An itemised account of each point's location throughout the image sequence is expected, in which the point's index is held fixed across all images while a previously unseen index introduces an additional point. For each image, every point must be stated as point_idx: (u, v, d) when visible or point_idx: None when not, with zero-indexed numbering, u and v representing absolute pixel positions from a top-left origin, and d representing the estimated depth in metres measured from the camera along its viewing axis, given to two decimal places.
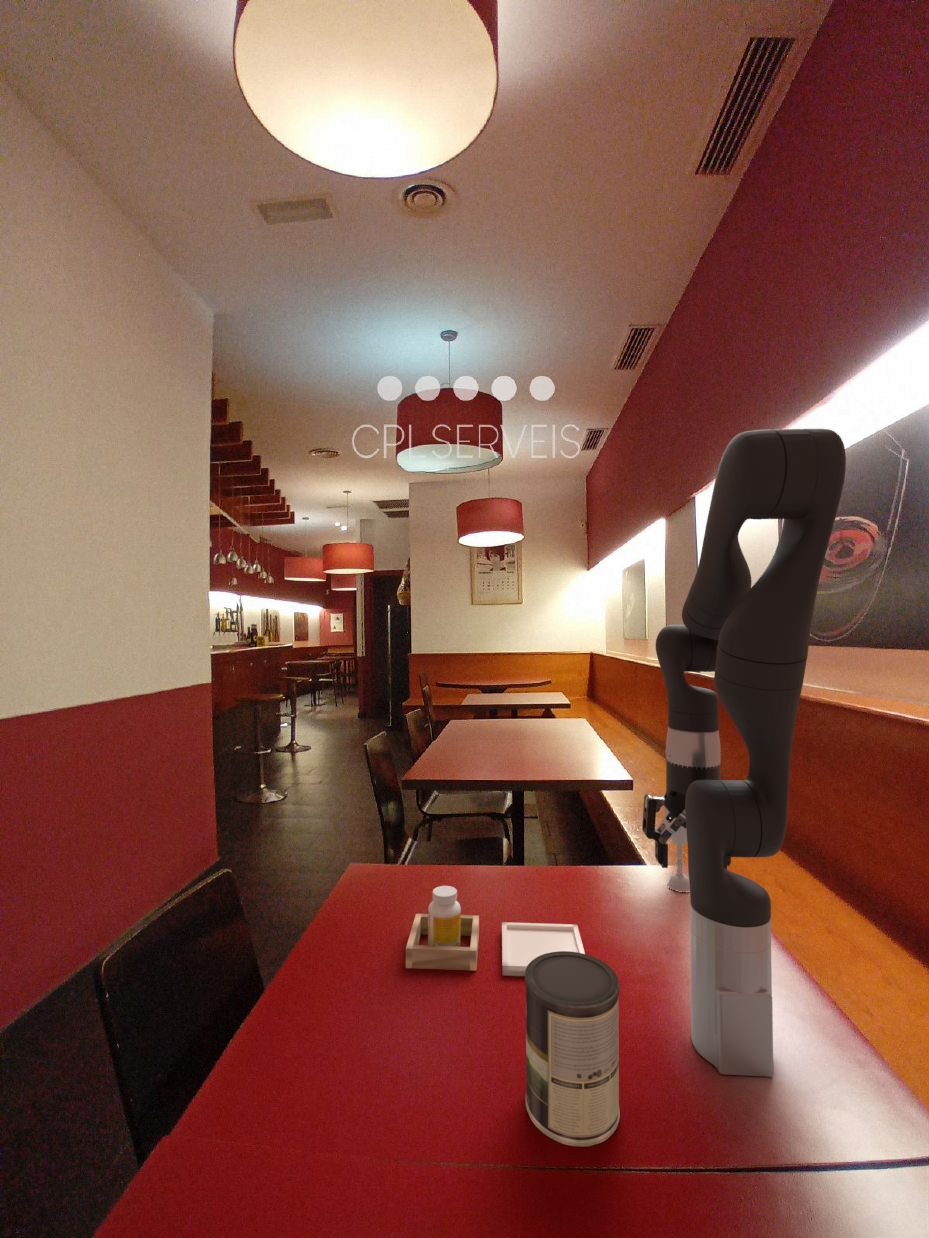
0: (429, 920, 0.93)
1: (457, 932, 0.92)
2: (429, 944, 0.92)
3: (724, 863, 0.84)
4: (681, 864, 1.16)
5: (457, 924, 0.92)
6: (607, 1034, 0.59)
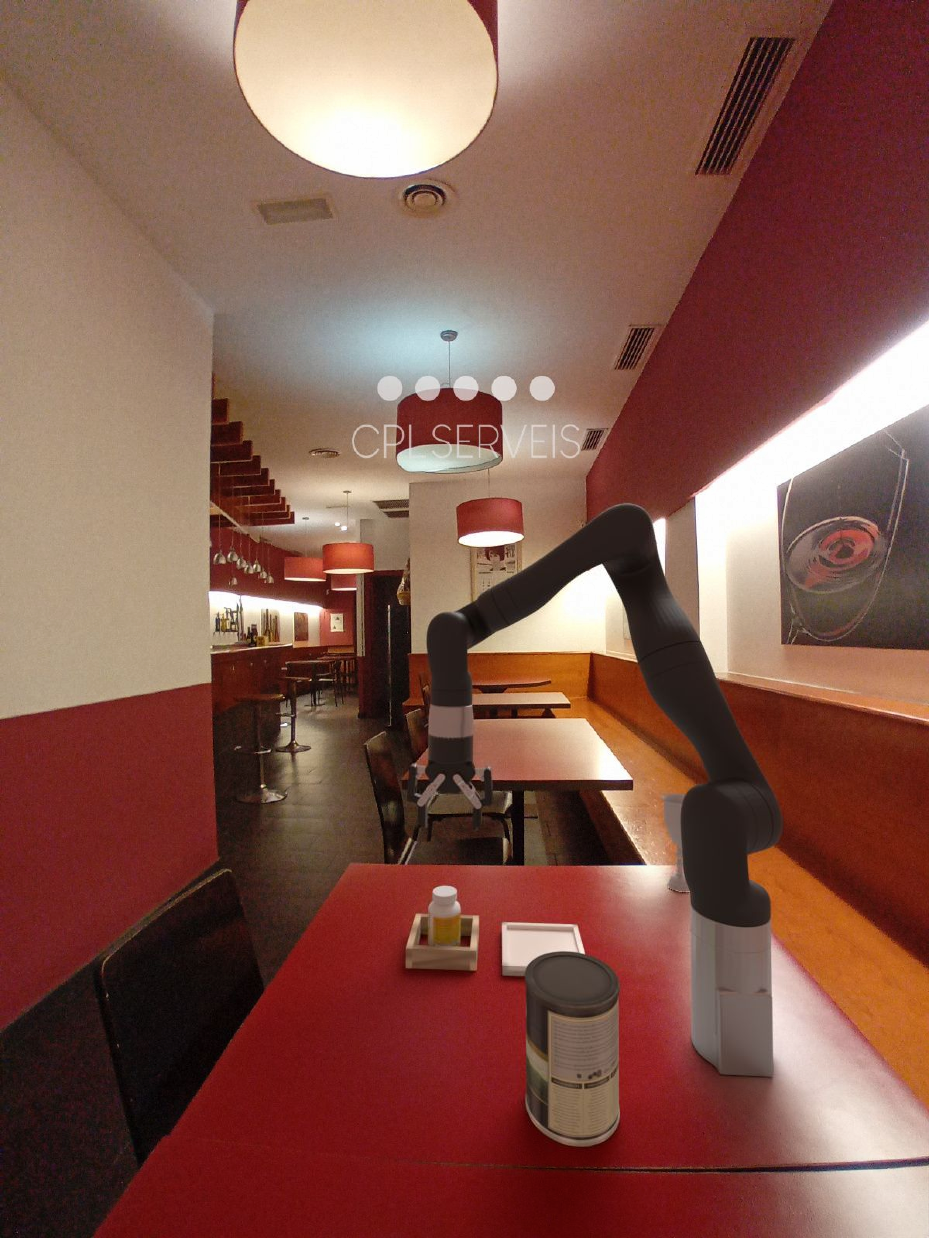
0: (429, 920, 0.93)
1: (456, 932, 0.92)
2: (429, 944, 0.92)
3: (474, 825, 0.94)
4: (681, 864, 1.16)
5: (457, 924, 0.92)
6: (607, 1034, 0.59)
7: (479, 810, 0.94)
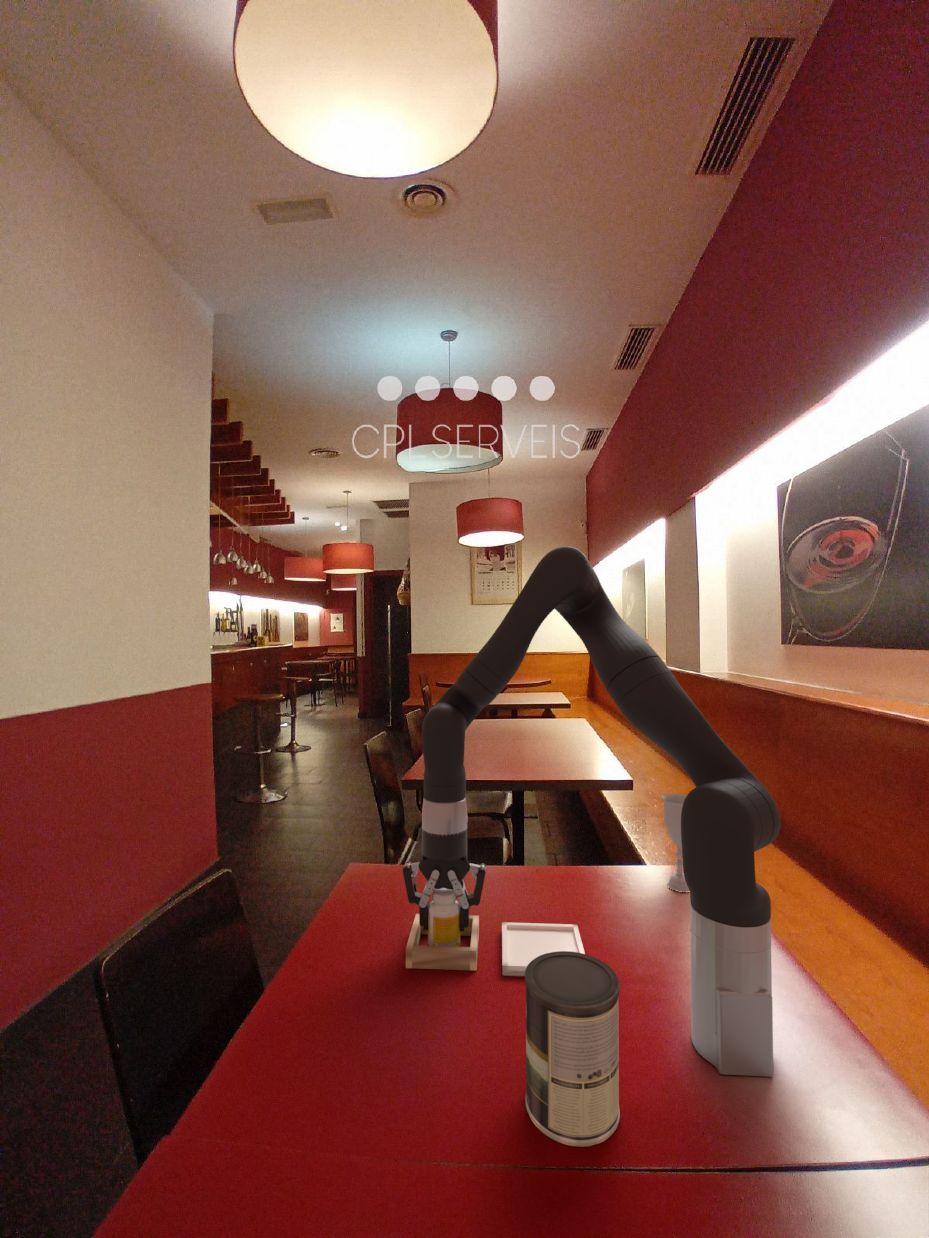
0: (429, 920, 0.93)
1: (456, 932, 0.92)
2: (429, 944, 0.92)
3: (462, 925, 0.92)
4: (681, 864, 1.16)
5: (457, 924, 0.92)
6: (607, 1034, 0.59)
7: (466, 910, 0.93)
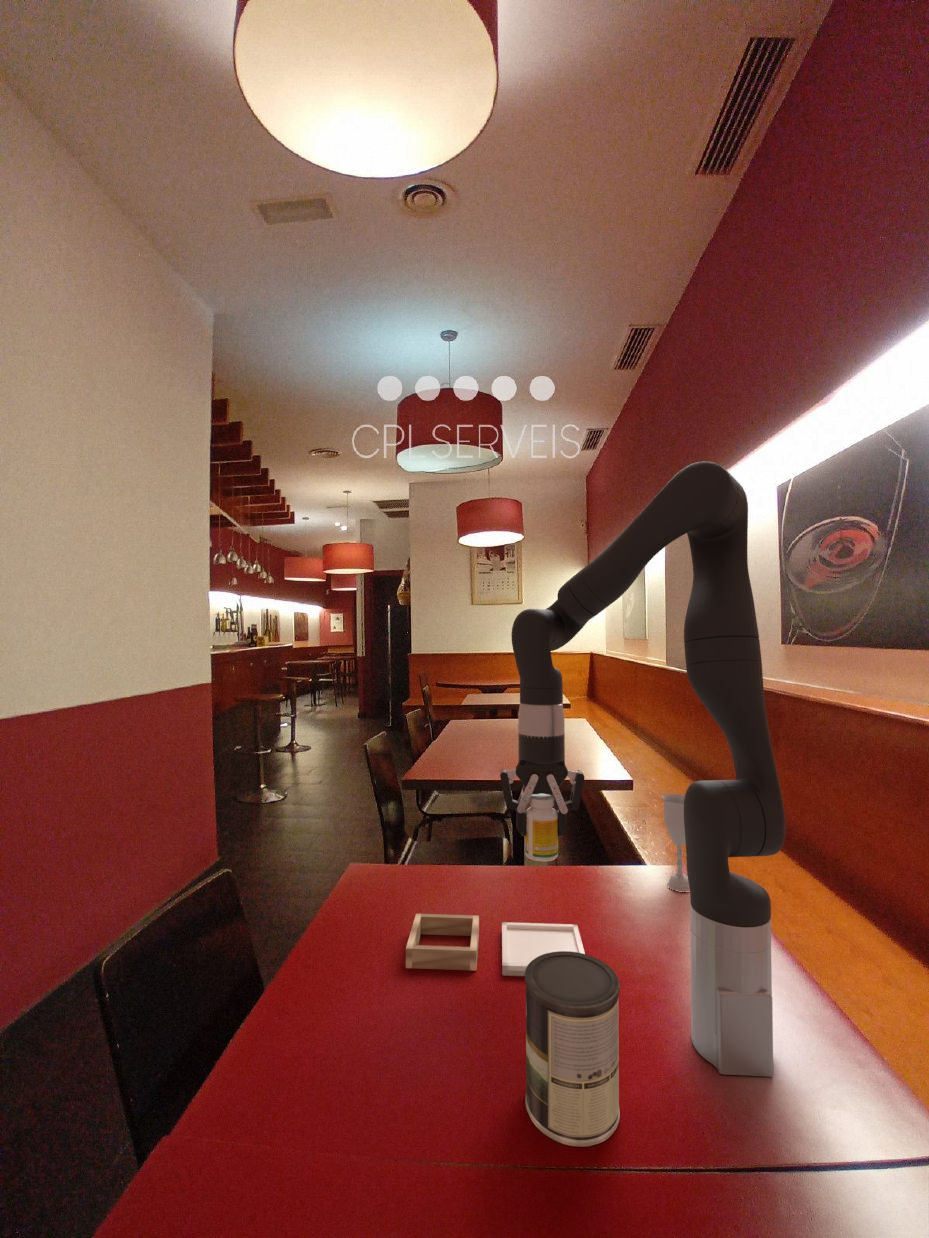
0: (527, 825, 0.92)
1: (556, 837, 0.91)
2: (528, 849, 0.92)
3: (560, 830, 0.92)
4: (681, 864, 1.16)
5: (556, 828, 0.91)
6: (607, 1034, 0.59)
7: (565, 815, 0.92)
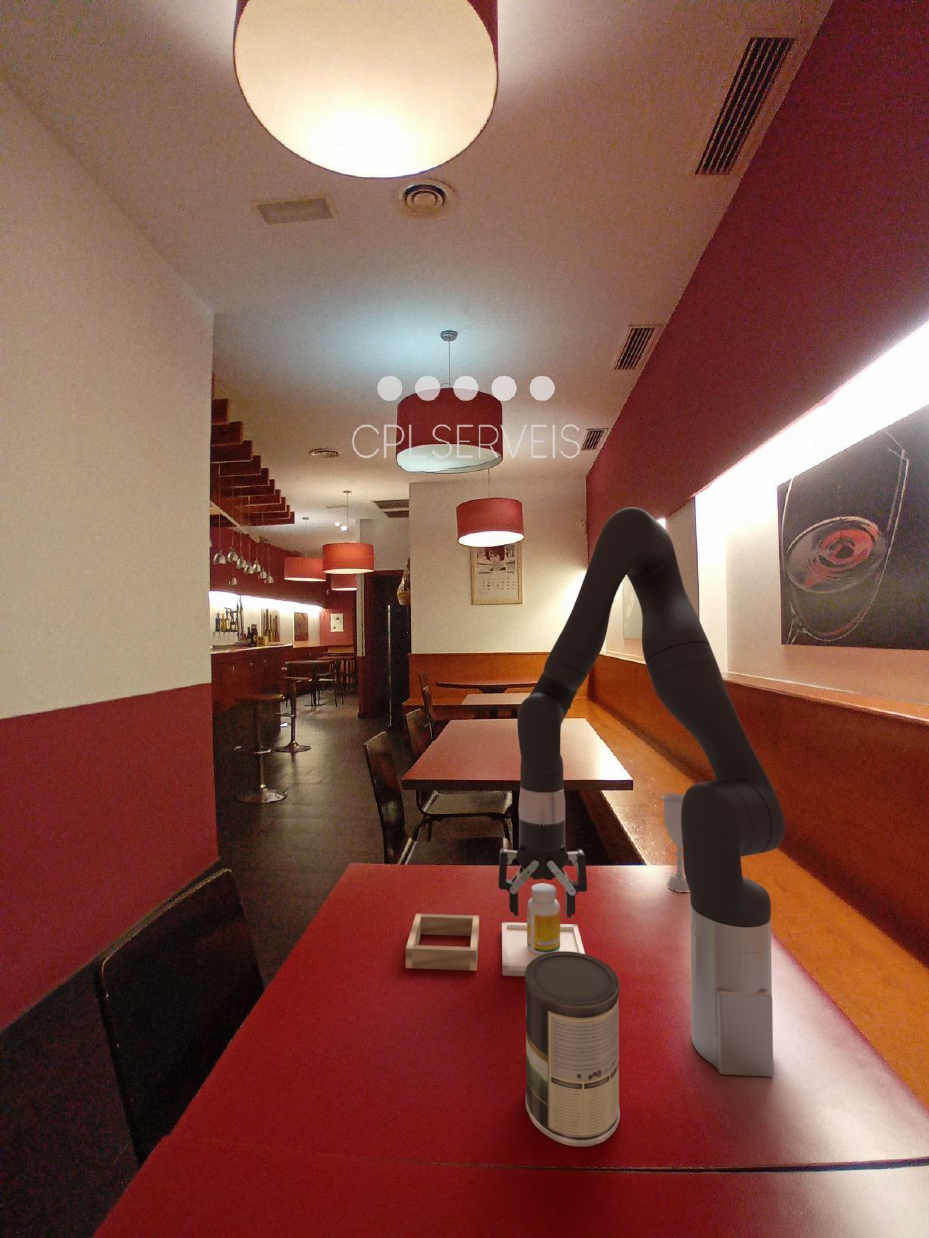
0: (529, 918, 0.92)
1: (558, 930, 0.91)
2: (529, 942, 0.91)
3: (568, 912, 0.91)
4: (681, 864, 1.16)
5: (558, 922, 0.91)
6: (607, 1034, 0.59)
7: (573, 896, 0.92)
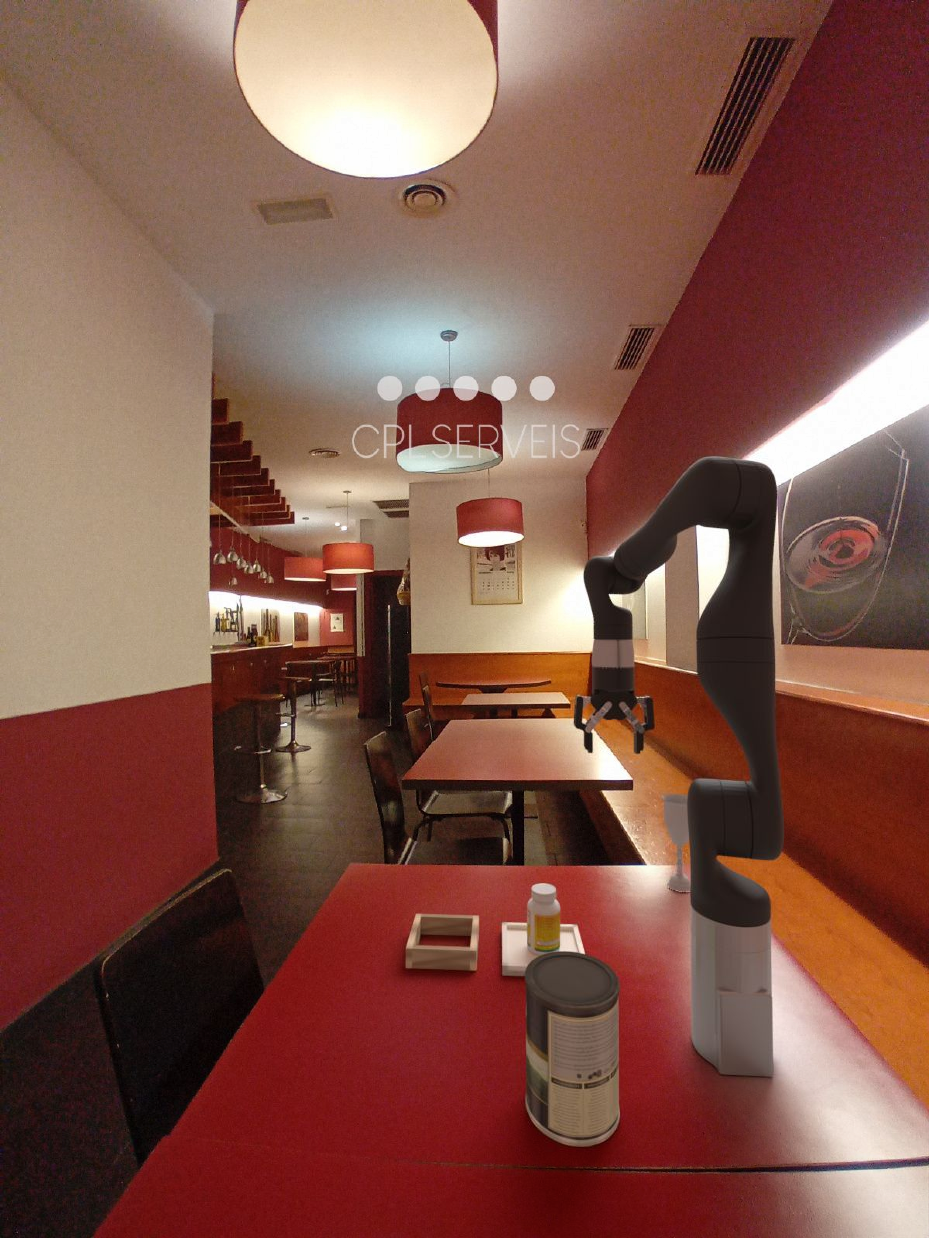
0: (529, 918, 0.92)
1: (558, 930, 0.91)
2: (530, 942, 0.91)
3: (638, 748, 1.03)
4: (681, 864, 1.16)
5: (558, 921, 0.91)
6: (607, 1034, 0.59)
7: (642, 735, 1.04)
